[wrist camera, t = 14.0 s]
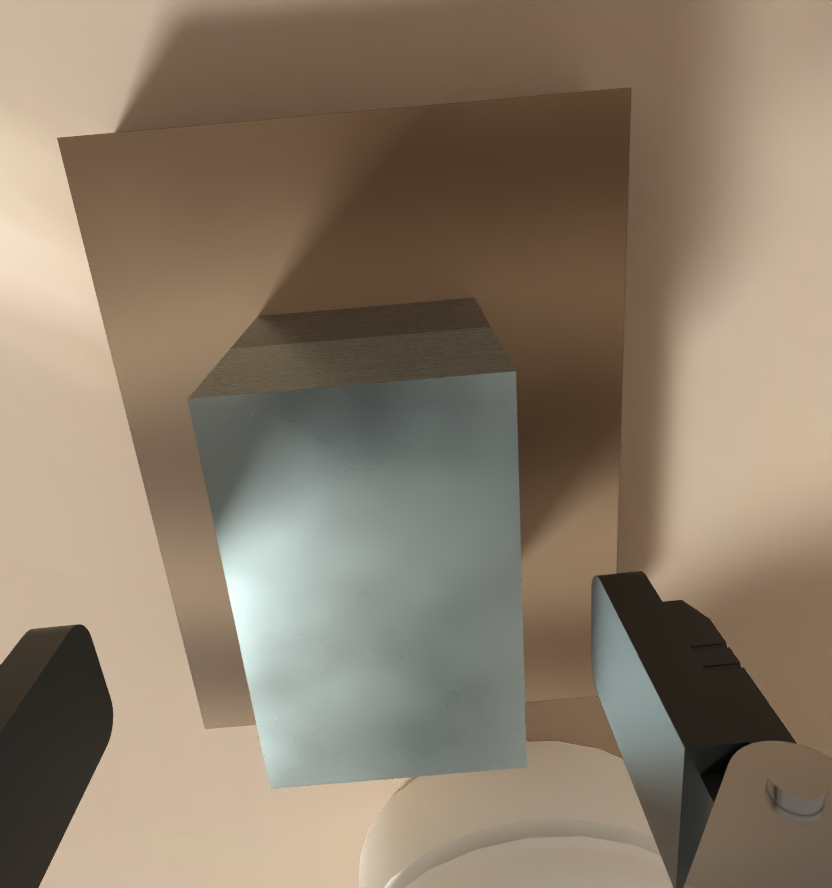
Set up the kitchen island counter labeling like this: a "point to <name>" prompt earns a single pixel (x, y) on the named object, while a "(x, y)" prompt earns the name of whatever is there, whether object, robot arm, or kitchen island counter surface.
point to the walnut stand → (374, 284)
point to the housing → (371, 539)
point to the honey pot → (517, 828)
